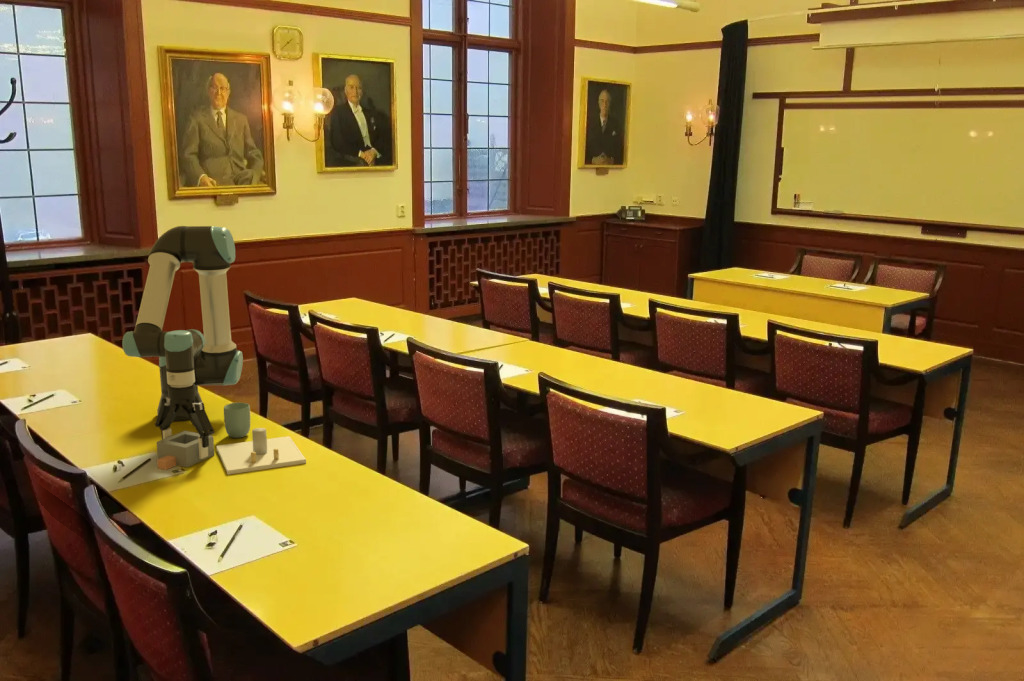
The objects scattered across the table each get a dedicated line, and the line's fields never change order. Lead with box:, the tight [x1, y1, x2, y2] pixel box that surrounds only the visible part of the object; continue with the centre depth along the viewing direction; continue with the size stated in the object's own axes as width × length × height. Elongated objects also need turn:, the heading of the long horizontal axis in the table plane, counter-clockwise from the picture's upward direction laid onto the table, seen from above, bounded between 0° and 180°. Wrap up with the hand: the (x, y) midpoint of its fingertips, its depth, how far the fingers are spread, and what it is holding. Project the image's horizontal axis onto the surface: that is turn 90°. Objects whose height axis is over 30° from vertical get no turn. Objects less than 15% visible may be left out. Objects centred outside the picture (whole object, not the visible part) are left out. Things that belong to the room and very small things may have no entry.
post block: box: [216, 427, 307, 476], centre depth 249 cm, size 22×22×8 cm
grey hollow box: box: [156, 430, 215, 471], centre depth 244 cm, size 15×11×6 cm
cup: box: [223, 402, 252, 439], centre depth 265 cm, size 8×8×10 cm
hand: (185, 454), depth 246 cm, fingers open, 13 cm apart
